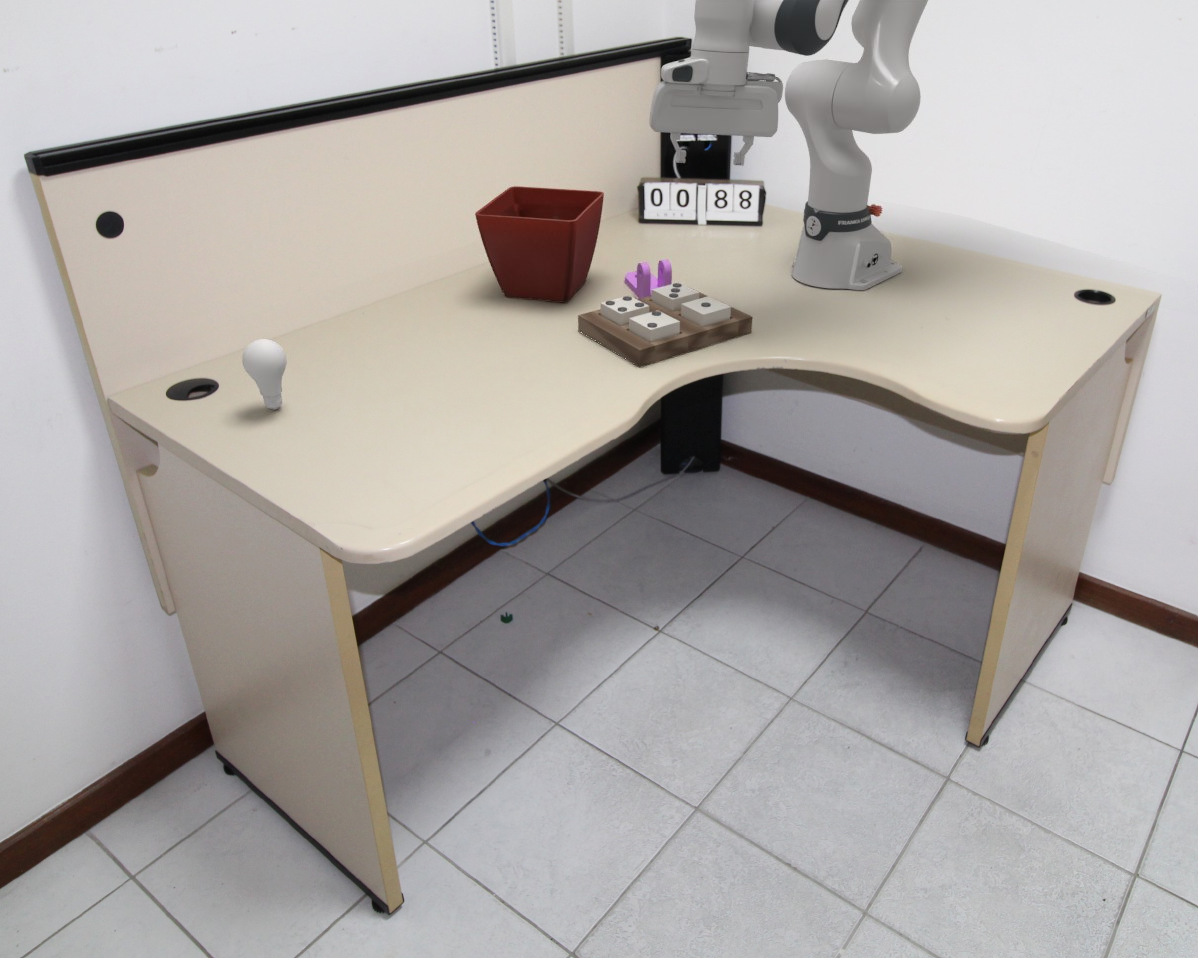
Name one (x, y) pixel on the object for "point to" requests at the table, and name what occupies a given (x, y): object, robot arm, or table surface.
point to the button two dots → (654, 326)
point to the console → (665, 348)
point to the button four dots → (623, 309)
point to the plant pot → (541, 240)
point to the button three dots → (673, 296)
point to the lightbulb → (266, 369)
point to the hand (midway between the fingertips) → (709, 163)
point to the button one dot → (705, 311)
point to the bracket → (649, 278)
